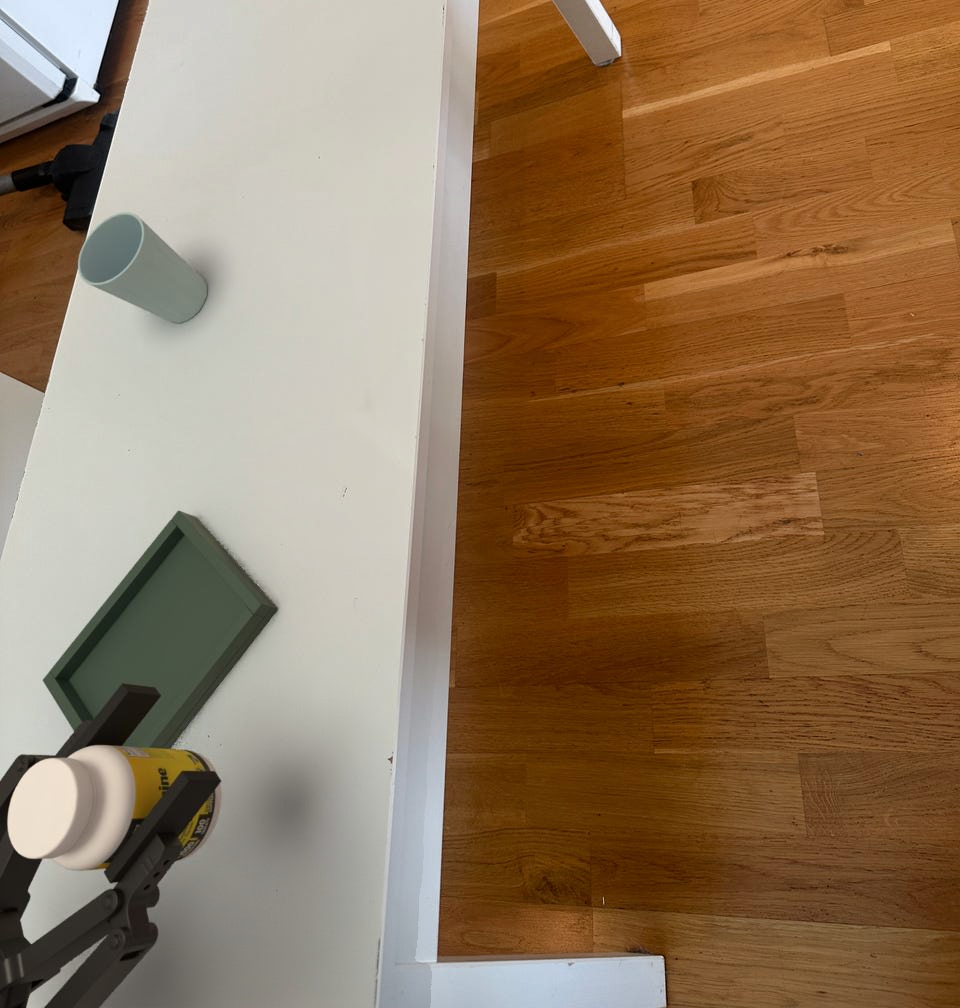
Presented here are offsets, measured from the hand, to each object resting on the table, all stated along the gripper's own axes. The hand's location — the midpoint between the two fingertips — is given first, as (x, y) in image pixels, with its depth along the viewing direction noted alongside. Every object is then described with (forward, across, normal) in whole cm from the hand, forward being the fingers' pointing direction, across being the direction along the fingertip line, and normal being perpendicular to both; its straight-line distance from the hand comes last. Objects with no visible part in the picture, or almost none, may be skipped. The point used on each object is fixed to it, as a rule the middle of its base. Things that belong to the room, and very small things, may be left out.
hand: (170, 731), depth 50 cm
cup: (+17, -43, -17) cm, 50 cm away
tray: (-5, -18, -17) cm, 25 cm away
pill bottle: (-5, 0, -6) cm, 8 cm away
